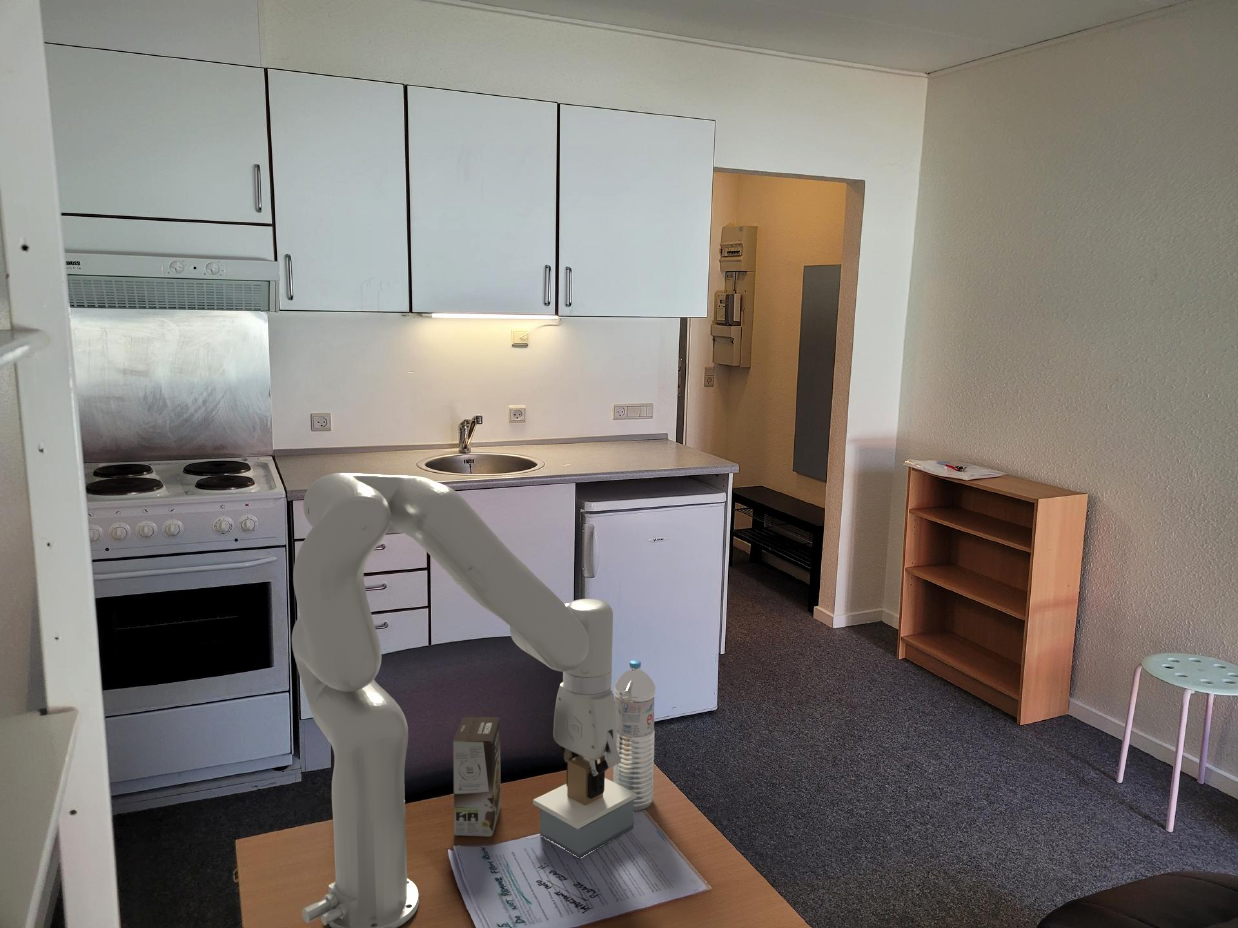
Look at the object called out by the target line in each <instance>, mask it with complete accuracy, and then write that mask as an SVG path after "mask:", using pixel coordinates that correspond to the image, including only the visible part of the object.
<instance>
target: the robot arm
mask: <svg viewBox="0 0 1238 928" xmlns="http://www.w3.org/2000/svg"><path fill="white" fill-rule="evenodd" d="M302 508H303V512H304V516H305V519H306V520H307V522H308V523H309V524H310V526H311V527H312V528H311V529H310V531H309V532H308V533H307V535H306V537H305V539H304V540H303V542H302V544H301V546H300V548H299V550H298V552H297V555H296V557H295V560H294V565H293V572H292V574H293V575H292V576H293V578H292V582H293V583H292V584H293V588H294V590H293V591H294V593H295V598H296V603H297V607H298V612H299V616H298V618H297V620H296V621H295V623H294V626H293V629H292V633H291V648H292V652H293V657H294V659H295V663H296V668H297V670H298V674H299V677H300V680H301V684H302V685H301V686H302V688H303V692H304V693H305V697H306V702H307V704H308V708H309V710H310V713H311V716H312V718H313V720H314V722H315V724H316V725H317V726H318V728H319V730H320V731H321V732H322V733H323V735H324V736H325V738H326V740H327V741H328V742H329V744H330V745H331V748H332V751H333V755H334V765H333V766H334V767H333V771H332V772H333V773H332V778H331V779H332V780H331V807H332V809H331V810H332V823H333V824H332V826H333V828H332V829H333V844H334V845H333V850H334V851H333V853H334V873H335V875H334V876H335V881H334V882H331V883H329V884H328V893H327V894H325V895H323V897H322V899H321V900H319V901H318V902H313V903H312V904H310V905H307V906H306V907H303V908H302V911H301V915H302V918H303V920H304V922H305V923H306V924H309V923H312V922H313V921H315V920H316V919H319V918H320V920H321V921H320V922H321V924H322V925H323V926H327V925H329V927H331V928H399V927H401V926H402V925H404V924H405V923H406V922H408V921H409V920H410V919H411V918H412V917H413V916H414V915H415V913H416V911H417V910H418V907H419V904H420V893H419V889H418V887H417V885H416V884H415V883H414V882H413V881H412V880H411V879H409V878H408V871H407V870H408V869H407V868H408V866H407V865H408V864H407V863H408V862H407V838H406V837H407V834H406V833H407V832H406V800H405V796H406V795H405V767H406V766H405V765H406V756H407V749H408V743H409V742H408V741H409V727H408V723H407V719H406V716H405V714H404V712H403V710H402V708H401V707H400V705H399V704H398V703H397V701H396V700H395V699H394V698H393V697H392V696H391V695H390V694H389V693H388V692H387V691H386V690H385V689H384V688H382V687H381V686H380V685H379V684H378V683H377V682H376V680H375V679H376V677H377V675H378V673H379V671H380V669H381V665H382V646H381V643H380V639H379V636H378V632H377V629H376V626H375V623H374V619H373V618H374V617H373V615H372V612H371V611H372V610H371V609H370V604H369V603H370V602H369V600H368V596H367V595H368V594H367V591H366V585H365V584H366V583H365V578H364V576H365V574H364V573H365V567H366V564H367V562H368V559H369V558H370V556H371V555H372V553H373V552H374V550H375V549H376V548H377V546H379V545H380V543H381V542H382V540H383V539H384V538H385V536H386V534H405V535H406V536H409V537H410V538H412V539H413V540H414V541H416V542H417V543H418V544H419V545H420V546H421V547H422V548H423V550H425V552H426V553H428V555H429V556H430V557H431V558H432V559H433V560H434V561H435V562H436V563H437V564H438V565H439V566H440V567H441V568H442V569H443V570H444V571H445V572H446V574H447V575H448V576H450V578H452V580H453V581H454V582H455V583H456V585H458V586H459V588H461V590H462V591H464V592H465V594H467V595H468V596H469V598H470V597H471V598H472V599H473V601H475V602H476V603H477V604H479V605H480V606H482V607H483V608H485V609H486V610H487V611H489V612H490V613H492V614H494V615H495V616H496V617H498V618H499V619H500V620H502V621H503V622H504V623H505V624H506V625H508V626H509V633H510V638H511V639H512V641H513V642H514V643H515V645H516V646H518V647H519V649H521V650H522V651H524V652H525V653H527V654H528V655H530V656H531V657H533V658H535V659H536V660H537V661H540V662H541V663H542V664H544V665H545V666H547V667H548V668H550V669H551V670H554V671H557V672H562V682H561V683H560V684H559V688H558V691H557V695H556V701H555V707H554V715H553V716H554V717H553V734H552V735H553V740H554V741H555V742H556V744H558V745H559V746H560V749H561V751H562V753H563V761H564V762H565V763H566V783H565V784H566V785H567V783H568V761H569V760H571V759H573V758H575V757H577V756H579V755H581V756H583V757H585V758H587V759H589V761H590V769H591V773H590V774H588V798H590V799H592V798H594V797H596V796H598V795H600V794H602V793H603V792H604V785H605V778H606V777H605V776H606V771H608V770H609V769H610V768H613V766H614V765H616V764H619V763H620V762H621V759H620V756H619V754H618V751H617V748H616V744H617V717H616V706H615V694H614V691H613V690H612V680H613V679H612V677H613V675H612V674H613V673H612V672H613V668H612V667H613V637H614V636H613V634H614V633H613V632H614V631H613V629H614V628H613V627H614V611H613V608H612V607H611V605H610V604H609V603H607V602H606V601H604V600H600V599H596V598H581V599H576V600H572V601H571V602H567V603H566V602H565V603H564V601H562V600H561V599H560V598H559V597H558V596H557V595H556V593H554V592H553V590H551V589H550V588H549V587H548V586H547V585H546V584H545V583H544V582H543V581H542V580H541V579H540V578H538V577H537V575H536V574H534V573H533V572H532V571H531V569H529V567H528V566H527V565H526V564H524V563H523V561H522V560H521V559H520V558H518V557H517V556H516V555H515V554H514V553H513V552H512V551H511V550H510V549H509V548H508V547H507V545H505V543H504V542H503V541H502V540H501V539H500V538H499V536H497V535H496V533H495V532H494V531H493V530H492V529H491V528H490V527H489V526H488V525H487V523H486V522H485V521H484V520H483V519H482V517H481V516H479V514H478V513H477V512H476V510H474V509H473V507H472V506H471V505H470V504H469V503H468V502H467V500H465V499H464V498H463V496H461V495H460V493H459V492H458V491H456V490H454V489H453V488H452V487H450V486H448V485H445V484H443V483H440V482H437V481H436V480H433V479H431V478H429V477H428V478H427V477H424V476H423V477H422V476H415V475H395V474H394V475H389V474H369V473H353V472H352V473H350V472H347V473H346V472H336V473H330V474H326V475H324V476H320V477H319V478H318V479H316V480H314V482H313V483H312V484H311V485H310V486H309V487H308V489H307V490H306V492H305V494H304V498H303V505H302ZM598 759H600V763H599V764H598V763H597V760H598Z"/></svg>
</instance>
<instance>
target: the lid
mask: <svg viewBox="0 0 1238 928" xmlns="http://www.w3.org/2000/svg"><path fill="white" fill-rule="evenodd" d="M597 763H598V764H599V763H600V758H599V759H598V760H597ZM590 773H591V769H590V761H589V759H587V758H585V757H583V756H581V755H579V756H577V757H575V758H573V759H571V760H569V761H568V783H567V782H566V783H565V784H563V785H560V786H559V787H556V788H555V789H553V790H551V791H548V792H547V793H545V794H543V795H540V796H538V797H535V798H534V799H533V800H532V804H533V805H534V806H535V807H537V808H539V809H540V808H541V809H542V810H544V811H546V812H548V813H550V814H551V815H553V816H555V817H557V818H558V819H560V820H562V821H564V822H566V823H567V824H569V825H571V826H573V827H575V828H576V829H579V828H581V827H583V826H585V825H587V824H589V823H590V822H592V821H594V820H596V819H598V818H600V817H602V816H603V815H605V814H607V813H609V812H611V811H613V810H615V809H616V808H618V807H620V806H622V805H624V804H626V803H628V802H629V801H631V800H633V799H635V798H636V793H635V792H633V791H630V790H628V789H626V788H624V787H622V786H620V785H618V784H616V783H614V782H613V781H612V780H610V779H608V778H606V777H605V785H604V792H603V793H602V794H600V795H598V796H596V797H594V798H592V799H590V798H588V774H590ZM566 784H567V785H566Z"/></svg>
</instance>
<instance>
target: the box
mask: <svg viewBox="0 0 1238 928" xmlns="http://www.w3.org/2000/svg"><path fill="white" fill-rule="evenodd" d="M634 813H635V811H634V799H633V800H631V801H629V802H628V803H626V804H624V805H622V806H620V807H618V808H616V809H615V810H613V811H611V812H609V813H607V814H605V815H603V816H602V817H600V818H598V819H596V820H594V821H592V822H590V823H589V824H587V825H585V826H583V827H581V828H579V829H576V828H575V827H573V826H571V825H569V824H567V823H566V822H564V821H562V820H560V819H558V818H557V817H555V816H553V815H551V814H550V813H548V812H546V811H544V810H542V809H541V808H539V837H540V836H543V837H545V838H546V839H549V840H550V841H553V842H554V843H556V844H558V845H560V846H561V847H563V848H565V850H567V851H569V852H571V853H572V854H574V855H576V856H577V857H579V858H581V857H583V856H584V855H586V854H588V853H589V852H591V851H593V850H595V849H597V848H599V847H600V846H602V845H604V844H606V843H607V844H609V843H610V842H609V841H611V842H613V841H614V840H616V839H617V837H618V838H620V837H621V836H623V835H624V834H626V833H627V832H629V831H631V830H633V829H634ZM632 828H633V829H632ZM622 834H623V835H622ZM615 838H616V839H615ZM613 839H614V840H613ZM612 840H613V841H612ZM608 842H609V843H608ZM607 844H606V845H607ZM604 846H605V845H604ZM602 847H603V846H602ZM599 849H600V848H599ZM597 850H598V849H597Z"/></svg>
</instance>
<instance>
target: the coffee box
mask: <svg viewBox="0 0 1238 928" xmlns="http://www.w3.org/2000/svg"><path fill="white" fill-rule="evenodd" d="M500 720H501V718H500V716H499V717H497V716H476V717H472V716H471V717H469V716H468V717H467V716H463V717H462V718H461V721H460V723H459V726H458V728H457V730H456V732H455V735H454V737H453V741H452V746H453V747H452V749H453V754H452V755H453V756H452V757H453V761H452V762H453V764H452V765H453V769H452V770H453V818H454V820H453V821H454V822H453V825H454V827H453V835H454V836H467V837H493V835H494V831H495V829H496V825H497V823H498V822H497V821H498V818H499V814H500V812H501V807H502V801H501V800H502V799H501V798H502V797H501V796H502V795H501V787H502V786H501V783H502V782H501V735H500V734H501V724H500V723H501V721H500Z"/></svg>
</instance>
